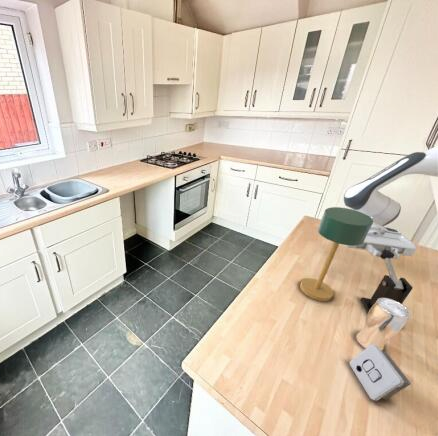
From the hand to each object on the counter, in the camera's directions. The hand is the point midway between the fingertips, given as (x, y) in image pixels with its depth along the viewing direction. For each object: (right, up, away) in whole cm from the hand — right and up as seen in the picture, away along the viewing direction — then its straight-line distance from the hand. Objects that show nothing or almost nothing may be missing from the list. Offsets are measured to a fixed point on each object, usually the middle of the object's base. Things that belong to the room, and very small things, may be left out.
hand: (387, 256), depth 80 cm
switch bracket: (-3, -19, 0) cm, 19 cm away
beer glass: (-14, -24, -9) cm, 30 cm away
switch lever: (-1, -5, -1) cm, 5 cm away
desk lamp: (-17, -14, +9) cm, 24 cm away
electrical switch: (-23, -29, -18) cm, 41 cm away
